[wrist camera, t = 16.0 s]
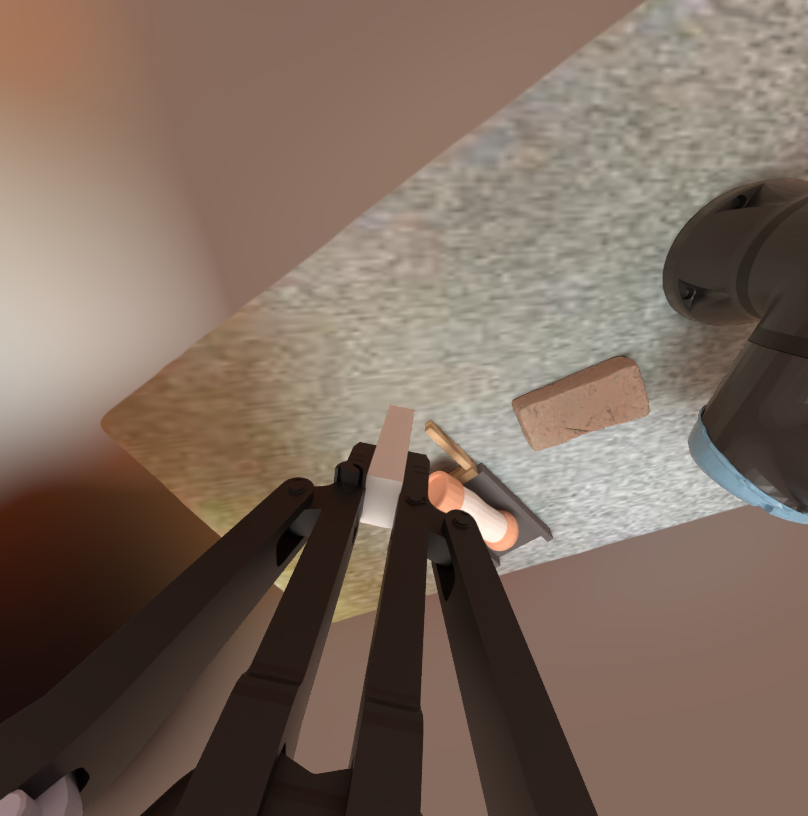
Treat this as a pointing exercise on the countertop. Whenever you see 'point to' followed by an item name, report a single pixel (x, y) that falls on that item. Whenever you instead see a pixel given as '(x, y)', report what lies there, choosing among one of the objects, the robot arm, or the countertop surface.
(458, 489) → the salt shaker
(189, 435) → the countertop surface
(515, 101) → the countertop surface
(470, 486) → the grey tray
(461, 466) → the oak cradle
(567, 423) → the brick
